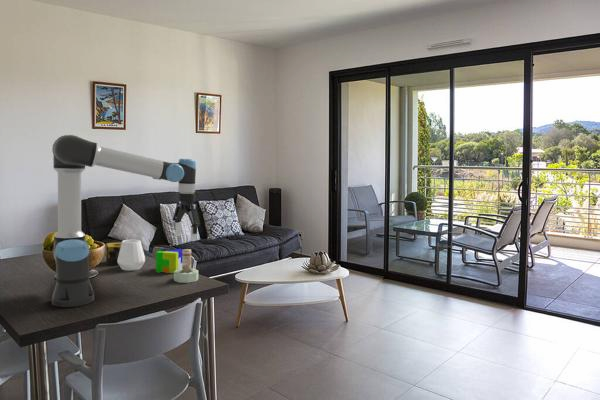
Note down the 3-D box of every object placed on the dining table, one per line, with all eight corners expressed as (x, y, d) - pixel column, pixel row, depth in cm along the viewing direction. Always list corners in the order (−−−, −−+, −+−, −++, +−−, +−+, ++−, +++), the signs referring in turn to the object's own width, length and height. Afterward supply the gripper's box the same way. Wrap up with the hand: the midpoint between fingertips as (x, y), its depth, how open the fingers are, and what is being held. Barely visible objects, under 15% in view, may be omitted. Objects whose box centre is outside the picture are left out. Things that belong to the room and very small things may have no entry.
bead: (182, 283, 215) (182, 275, 215) (170, 279, 223) (170, 270, 222) (201, 280, 222) (202, 271, 222) (190, 275, 230) (190, 267, 229)
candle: (106, 261, 253) (105, 243, 252) (126, 260, 257) (126, 242, 256) (107, 266, 244) (106, 246, 242) (128, 264, 248) (127, 245, 247)
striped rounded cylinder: (185, 281, 220) (185, 251, 218) (180, 279, 223) (180, 249, 221) (192, 279, 223) (193, 250, 221) (188, 277, 225) (188, 248, 224)
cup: (150, 266, 245) (150, 239, 243) (135, 272, 232) (134, 244, 231) (128, 264, 248) (127, 237, 247) (111, 270, 236) (111, 242, 234)
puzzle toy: (182, 268, 243) (182, 249, 242) (175, 273, 233) (175, 253, 232) (163, 267, 244) (163, 248, 243) (156, 272, 234) (156, 252, 233)
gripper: (208, 194, 212) (207, 242, 214) (180, 190, 230) (179, 233, 232) (194, 195, 207) (193, 243, 209) (165, 190, 225) (165, 235, 227)
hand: (185, 238), depth 220 cm, fingers open, 13 cm apart
